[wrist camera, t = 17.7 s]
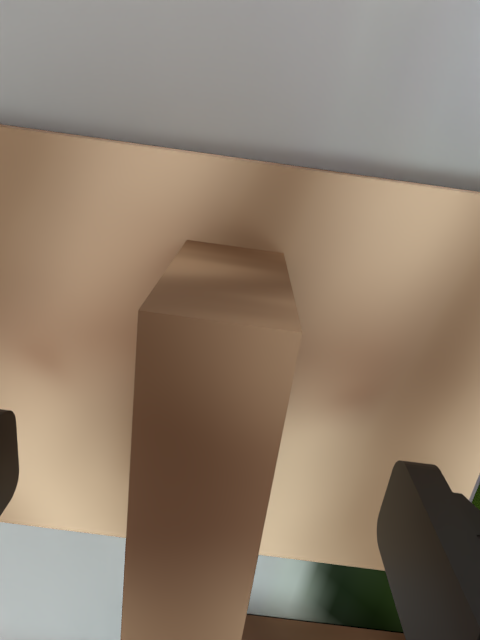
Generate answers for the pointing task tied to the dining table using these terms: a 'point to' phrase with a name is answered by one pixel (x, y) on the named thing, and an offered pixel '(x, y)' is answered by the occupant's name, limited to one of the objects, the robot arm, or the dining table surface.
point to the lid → (227, 360)
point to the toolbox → (308, 631)
